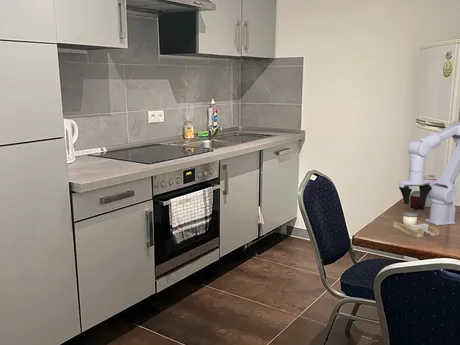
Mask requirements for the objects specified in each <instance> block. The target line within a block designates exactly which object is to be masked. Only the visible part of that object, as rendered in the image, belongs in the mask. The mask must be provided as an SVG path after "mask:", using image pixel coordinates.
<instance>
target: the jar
mask: <svg viewBox="0 0 460 345" xmlns="http://www.w3.org/2000/svg"><path fill="white" fill-rule="evenodd" d="M402 213H403V214H402V215H403V216H402V219H403V220H402V224H403V225H405V226H408V227H410V228H411V225H416V224H417V221H418V213H417V212H415V211H414V212H413V211H404V212H402Z"/></svg>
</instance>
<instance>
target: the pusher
mask: <svg viewBox="0 0 460 345" xmlns="http://www.w3.org/2000/svg"><path fill="white" fill-rule="evenodd" d="M428 225H429V224H428V223H424V224H419V225H411V228H412V229H414V230H416V231H417V229H424V233H427V234H429V235H430V232H429V231H428Z"/></svg>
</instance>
